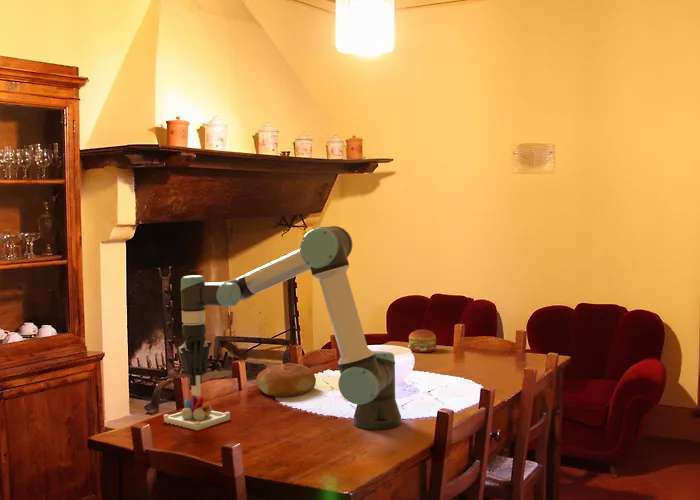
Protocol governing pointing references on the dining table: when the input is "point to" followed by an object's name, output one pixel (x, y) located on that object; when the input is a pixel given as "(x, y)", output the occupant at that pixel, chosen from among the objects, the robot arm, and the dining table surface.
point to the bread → (286, 380)
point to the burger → (422, 341)
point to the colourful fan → (195, 409)
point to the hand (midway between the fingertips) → (196, 394)
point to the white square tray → (195, 424)
